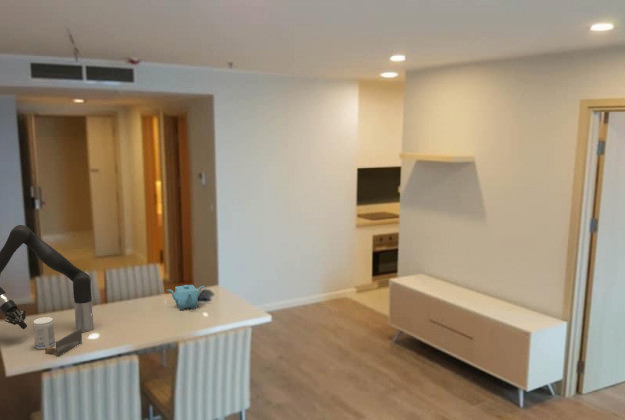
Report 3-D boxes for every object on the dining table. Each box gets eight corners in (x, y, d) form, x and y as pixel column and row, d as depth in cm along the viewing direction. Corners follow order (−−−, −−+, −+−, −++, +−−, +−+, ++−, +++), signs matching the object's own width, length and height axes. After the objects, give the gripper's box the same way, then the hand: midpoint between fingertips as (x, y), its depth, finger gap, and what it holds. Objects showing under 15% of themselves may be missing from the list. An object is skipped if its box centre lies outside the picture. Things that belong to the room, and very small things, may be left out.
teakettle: (182, 300, 355) (182, 280, 353) (206, 304, 349) (206, 283, 346) (166, 309, 337) (165, 287, 335) (190, 313, 331) (190, 291, 329)
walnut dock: (43, 354, 268) (42, 339, 266) (67, 341, 285) (67, 327, 284) (58, 356, 265) (57, 342, 264) (82, 343, 283) (81, 329, 281)
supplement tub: (51, 340, 285) (49, 315, 282) (57, 346, 278) (56, 320, 276) (32, 346, 278) (30, 320, 275) (38, 351, 271) (36, 324, 269)
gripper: (-2, 303, 273) (19, 328, 272) (18, 296, 286) (38, 319, 285) (-9, 312, 275) (11, 336, 274) (11, 304, 288) (31, 327, 287)
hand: (25, 327), depth 279 cm, fingers closed
